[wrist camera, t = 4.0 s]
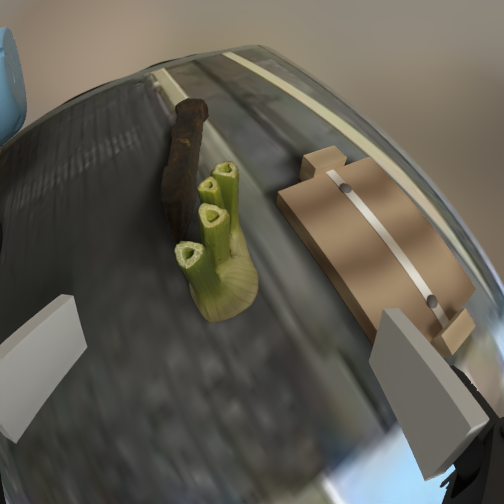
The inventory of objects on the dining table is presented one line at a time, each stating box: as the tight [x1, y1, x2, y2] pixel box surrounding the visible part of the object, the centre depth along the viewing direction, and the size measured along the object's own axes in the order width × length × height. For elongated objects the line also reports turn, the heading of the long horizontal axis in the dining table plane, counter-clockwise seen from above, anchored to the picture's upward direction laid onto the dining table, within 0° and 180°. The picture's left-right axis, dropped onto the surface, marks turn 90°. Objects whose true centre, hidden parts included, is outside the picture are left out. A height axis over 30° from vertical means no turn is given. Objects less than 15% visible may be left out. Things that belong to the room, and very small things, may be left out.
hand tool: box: [160, 98, 209, 244], centre depth 26 cm, size 19×4×5 cm, turn 1°
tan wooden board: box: [276, 146, 476, 358], centre depth 22 cm, size 22×12×3 cm, turn 29°
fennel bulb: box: [174, 161, 259, 323], centre depth 17 cm, size 6×5×12 cm
